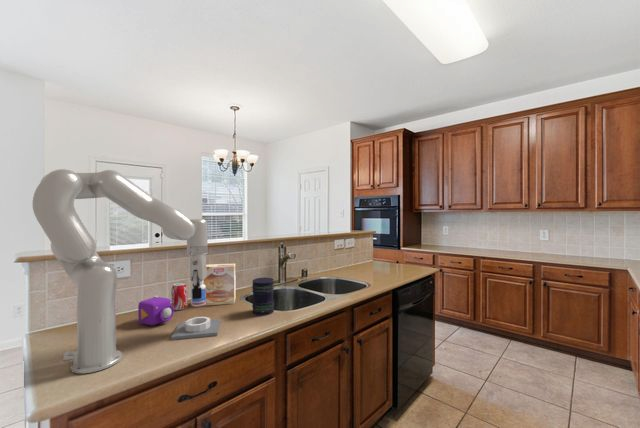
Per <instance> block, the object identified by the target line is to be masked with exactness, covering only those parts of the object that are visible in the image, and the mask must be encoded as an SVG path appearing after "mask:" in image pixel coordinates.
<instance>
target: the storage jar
mask: <svg viewBox="0 0 640 428" xmlns="http://www.w3.org/2000/svg"><path fill="white" fill-rule="evenodd" d="M274 282H275V281H274V278H272V277H258V278H254V279H252V305H251V306H252V314H253V315H255V316H259V317H261V316H263V317H264V316H269V315H271V314H273V313H274V311H275V309H274V308H275V301H274V291H275V286H274V285H275V284H274Z"/></svg>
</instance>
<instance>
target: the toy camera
mask: <svg viewBox="0 0 640 428" xmlns="http://www.w3.org/2000/svg"><path fill="white" fill-rule="evenodd" d="M137 309H138V310H137V311H138V313H137V314H138V317H137V318H138V323H140V324H142V325H147V326H150V327H151V326H153V327H154V326H157V325H159V324H163V323H164V322H169V320H171V319H172V317H173V316H174V313H175V310H174V308H173V306H172V303H171V299H170V298H166V297H161V296H159V295H154V296H153V297H151V298H148V299H144V300H141V301H140V302H139V303H138V307H137Z"/></svg>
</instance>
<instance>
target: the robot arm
mask: <svg viewBox="0 0 640 428" xmlns="http://www.w3.org/2000/svg"><path fill="white" fill-rule="evenodd" d="M101 198H107V199H108V200H109V201H111V202H112V203H114V204H116V205H117V206H119V207H120V208H122V209H124V210H125V211H127V212H128V213H130V214H131V215H132V216H134V217H136V218H138V219H141V220H143V221H147V222H149V223H153V224H155V225H157V226H158V227H160V228H162V229H161V230H162V234H163V235H164V236H165V237H166V238H168V239H169V240H176V241H177V240H178V241H186V255H187V256H189V280H190V281H191V282H192V285H191V287H192V298H193V299H199V298H201V297H202V294H201V288H200V287H201V280H204V279H205V278H206V276H207V266H206V265H207V255H208V254H209V252H208V249H209V248H208V246H209V244H208V222H207V221H208V220H206V219H203V218H194V219H193V218H191V219H188V217H186V216H185V215H183V214H182V213H181V212H179V211H178V210H177V209H175V208H173V207H171V206H169V205H168V204H167V203H165V202H163V201H161V200H159V199H158V198H156V197H153V196H152V195H151V194H150V193H148V192H147V191H145V190H144V189H143V188H141V187H140V186H139V185H137V184H135V183H134V182H133V181H131V179H129V178H127V177H126V176H125V175H123V174H122V173H120V172H118V171H116V170H111V169H108V170H107V169H106V170H101V171H98V172H75V171H73V170H70V169H65V168H64V169H63V168H60V169H55V170H53V171H50V172H48V173H47V174H45V175H44V176H43V177H42V178H41V180H40V182H39V184H38V185H37V186H36V189H35V191H34V194H33V197H32V203H31V204H32V210H33V214H34V216H35V218H36V220H37V222H38V224H39V225H40V226H41V229H42V231H43V232H44V234H45V235H46V237H47V238H48V239H49V241H50V249H51V252H52V254H53V256H54V257H55V258H56V260H57V261H58V263H59V264H60V266H61V267H62V268H63V270H64V271H65V273H66V275H68V277H69V278H70V279H71V281H72V283H74V284H75V285H76V287H77V295H76V296H77V299H76V336H77V337H76V343H77V344H76V345H77V346H76V350H74V351H73V350H71V351H65V352H63V354H62V361H63V362H69V361H70V362H71V361H72V363H71V364H70V371H71V372H72V373H74V374H78V375H79V374H91V373H95V372H99V371H101V370H102V371H103V370H106V369H108V368H110V367H113V366H114V365H116V364H117V363H118V362H120V361H121V360H122V358H123V352H122V351H120V350H118V349H117V326H116V325H117V319H116V318H117V317H116V313H117V312H116V311H117V310H116V300H117V299H116V294H117V287H118V274H117V271H116V269H115V268H114V267H113V266H112V265H111V264H110V263H108V262H106V261H104V260H102V258H101V257H100V255H99V254H98V252H97V251H96V250H97V244H96V241H95V239H94V237H93V236H92V235H91V234H90V232H89V230H88V229H87V228H86V226H85V225H84V223H83V221H82V220H81V219H80V216H79V214H78V213H77V211H76V208H75V200H82V199H83V200H84V199H85V200H87V199H101ZM197 279H199V280H197ZM198 282H199V283H198Z"/></svg>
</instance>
